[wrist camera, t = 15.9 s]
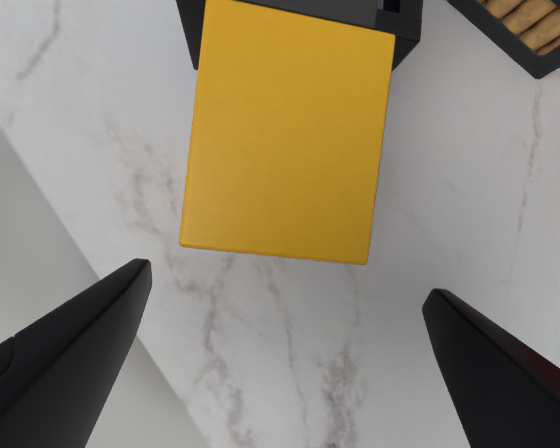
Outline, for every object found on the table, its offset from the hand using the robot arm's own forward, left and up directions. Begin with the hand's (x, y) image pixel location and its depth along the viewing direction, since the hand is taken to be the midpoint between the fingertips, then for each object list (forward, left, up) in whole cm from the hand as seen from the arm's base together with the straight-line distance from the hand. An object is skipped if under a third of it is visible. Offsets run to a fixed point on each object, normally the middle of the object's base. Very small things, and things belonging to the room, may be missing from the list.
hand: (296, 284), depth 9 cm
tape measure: (+2, +4, -9) cm, 10 cm away
